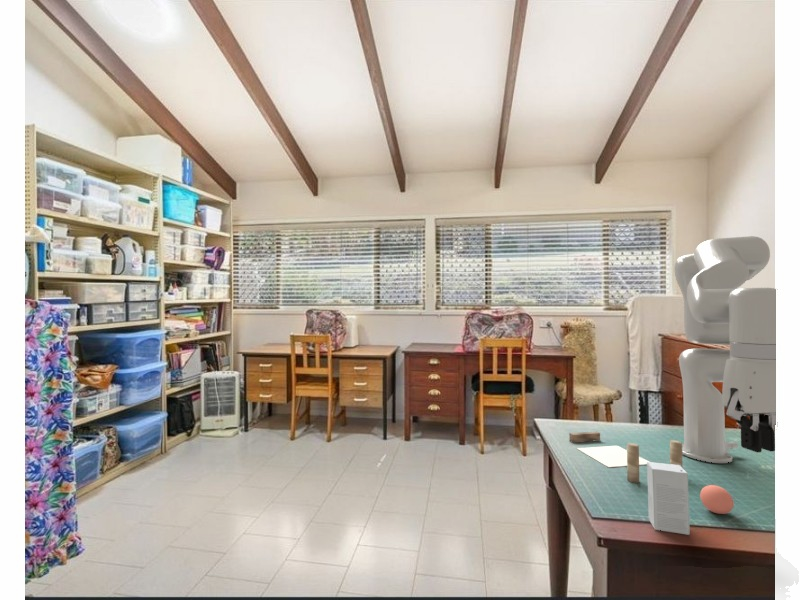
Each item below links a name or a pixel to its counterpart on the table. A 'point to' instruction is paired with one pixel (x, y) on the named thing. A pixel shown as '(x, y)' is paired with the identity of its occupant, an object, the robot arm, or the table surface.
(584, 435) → the wall
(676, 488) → the skincare box
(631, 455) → the post
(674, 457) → the post
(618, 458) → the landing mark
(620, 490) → the table surface
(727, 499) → the ball
